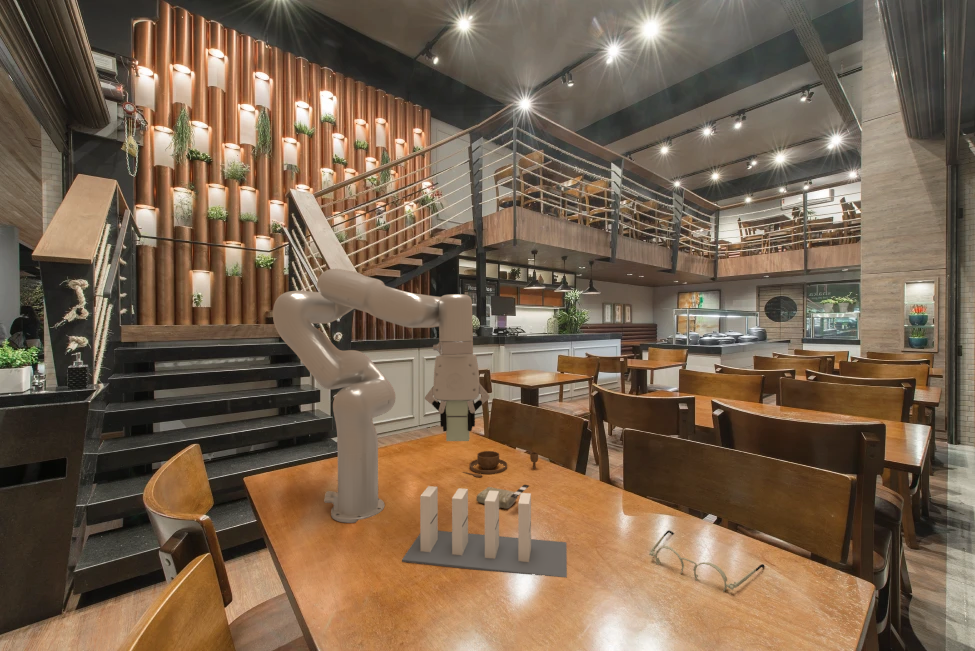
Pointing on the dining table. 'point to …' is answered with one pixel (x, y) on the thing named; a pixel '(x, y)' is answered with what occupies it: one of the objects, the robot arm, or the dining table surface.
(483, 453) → the place setting
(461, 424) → the end domino
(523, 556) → the domino
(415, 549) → the mat
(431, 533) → the domino
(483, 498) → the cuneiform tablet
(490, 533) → the domino
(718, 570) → the eyeglasses
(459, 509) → the domino
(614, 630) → the dining table surface
